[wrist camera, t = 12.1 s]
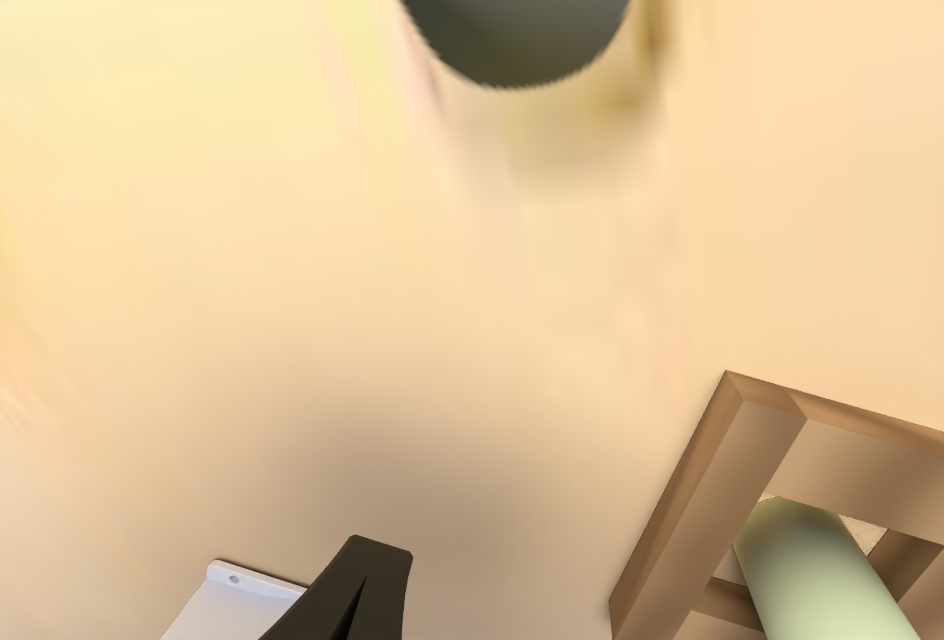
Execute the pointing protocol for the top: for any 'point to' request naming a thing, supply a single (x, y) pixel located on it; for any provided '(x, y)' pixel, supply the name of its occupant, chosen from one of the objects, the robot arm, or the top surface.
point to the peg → (813, 577)
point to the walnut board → (793, 477)
